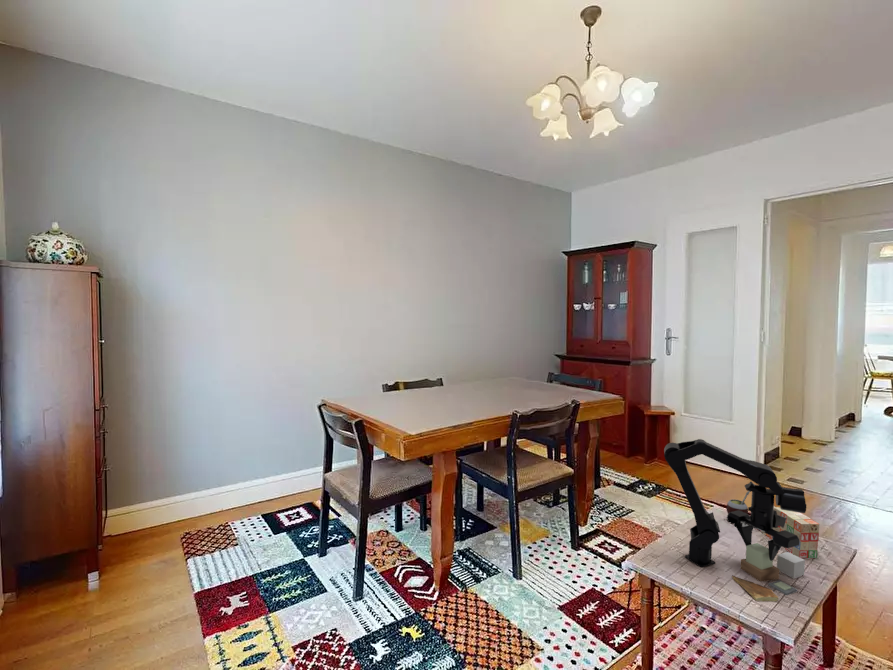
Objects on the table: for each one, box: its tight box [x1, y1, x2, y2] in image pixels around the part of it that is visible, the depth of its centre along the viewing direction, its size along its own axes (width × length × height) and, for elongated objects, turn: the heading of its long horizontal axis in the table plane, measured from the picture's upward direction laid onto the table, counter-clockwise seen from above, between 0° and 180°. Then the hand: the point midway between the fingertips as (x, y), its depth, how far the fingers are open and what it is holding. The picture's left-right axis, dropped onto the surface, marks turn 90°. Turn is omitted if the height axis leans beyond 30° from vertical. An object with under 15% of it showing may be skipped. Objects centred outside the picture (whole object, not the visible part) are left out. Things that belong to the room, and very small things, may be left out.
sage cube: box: [745, 542, 774, 570], centre depth 139 cm, size 5×5×5 cm
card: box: [768, 579, 798, 596], centre depth 132 cm, size 5×5×1 cm
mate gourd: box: [726, 491, 752, 514], centre depth 173 cm, size 8×8×15 cm
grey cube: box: [776, 551, 806, 579], centre depth 140 cm, size 5×5×5 cm
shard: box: [731, 574, 779, 602], centre depth 131 cm, size 11×8×2 cm
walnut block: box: [740, 558, 780, 583], centre depth 139 cm, size 7×7×4 cm
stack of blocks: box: [760, 505, 820, 559], centre depth 158 cm, size 21×6×12 cm, turn 1°
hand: (760, 554), depth 139 cm, fingers open, 7 cm apart
